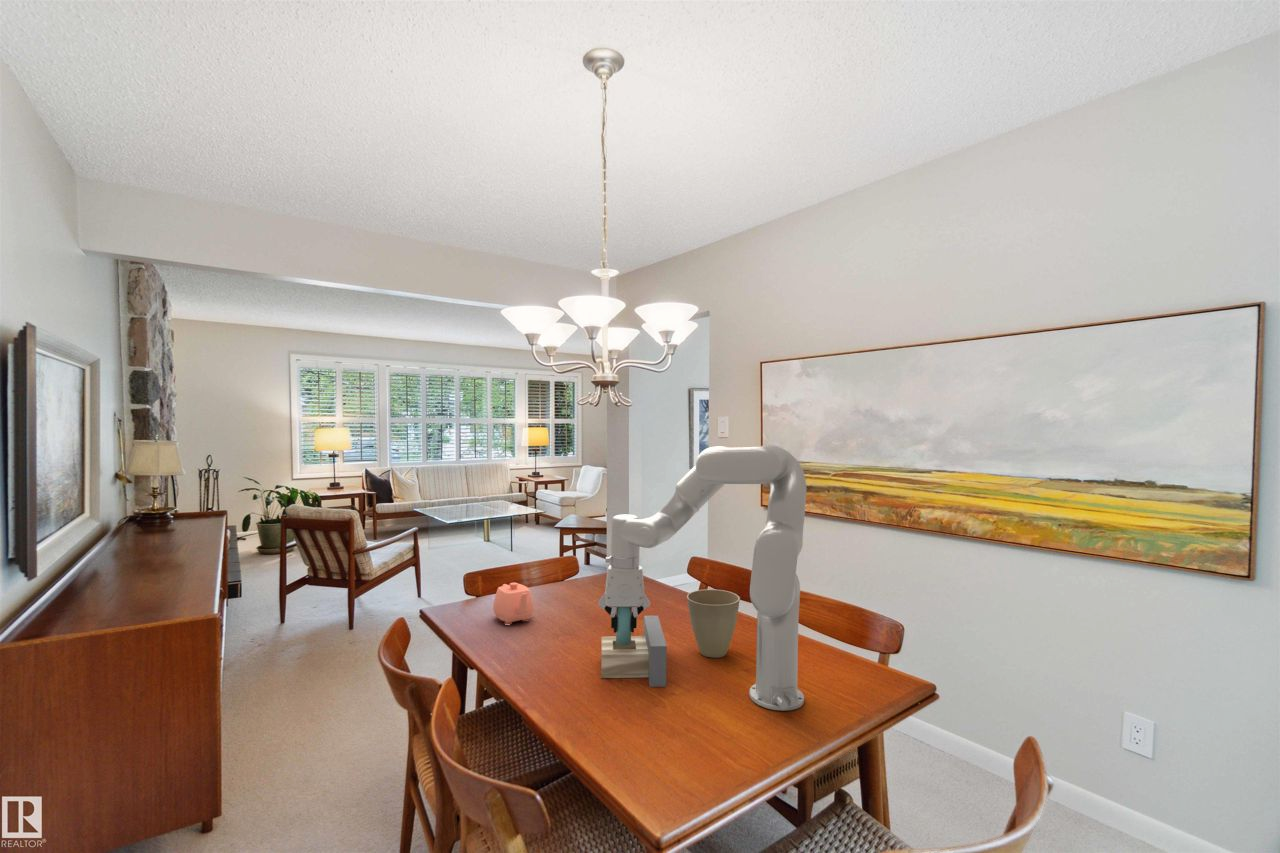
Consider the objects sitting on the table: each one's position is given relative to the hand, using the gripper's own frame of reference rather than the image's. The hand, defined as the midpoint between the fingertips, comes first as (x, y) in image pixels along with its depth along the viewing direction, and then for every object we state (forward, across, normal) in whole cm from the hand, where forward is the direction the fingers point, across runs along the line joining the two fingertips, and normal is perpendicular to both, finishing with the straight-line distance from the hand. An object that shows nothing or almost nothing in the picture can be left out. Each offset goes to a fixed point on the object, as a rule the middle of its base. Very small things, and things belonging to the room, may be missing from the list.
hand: (623, 630), depth 149 cm
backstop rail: (+10, +8, 0) cm, 13 cm away
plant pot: (+10, +26, +9) cm, 29 cm away
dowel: (+3, 0, 0) cm, 3 cm away
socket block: (+10, 0, 0) cm, 10 cm away
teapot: (+11, -34, +37) cm, 51 cm away
